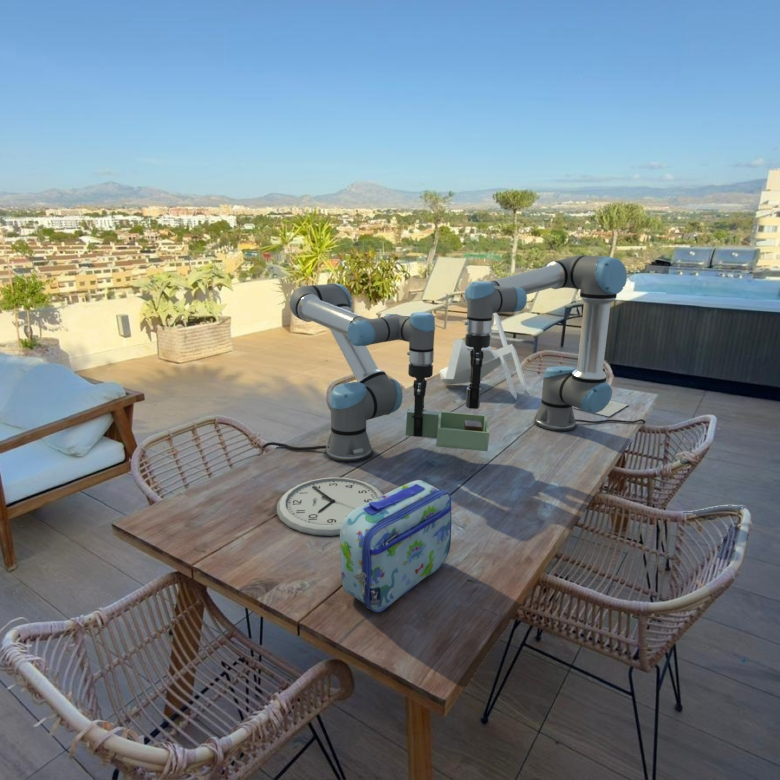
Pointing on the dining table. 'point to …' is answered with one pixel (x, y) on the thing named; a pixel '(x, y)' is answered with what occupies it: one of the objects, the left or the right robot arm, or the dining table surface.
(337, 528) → the wall clock
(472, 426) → the walnut block
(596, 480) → the dining table surface
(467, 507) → the dining table surface
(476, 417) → the tray
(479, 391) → the grey metal peg
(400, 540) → the lunch box
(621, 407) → the invitation card
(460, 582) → the dining table surface
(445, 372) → the white plastic object
